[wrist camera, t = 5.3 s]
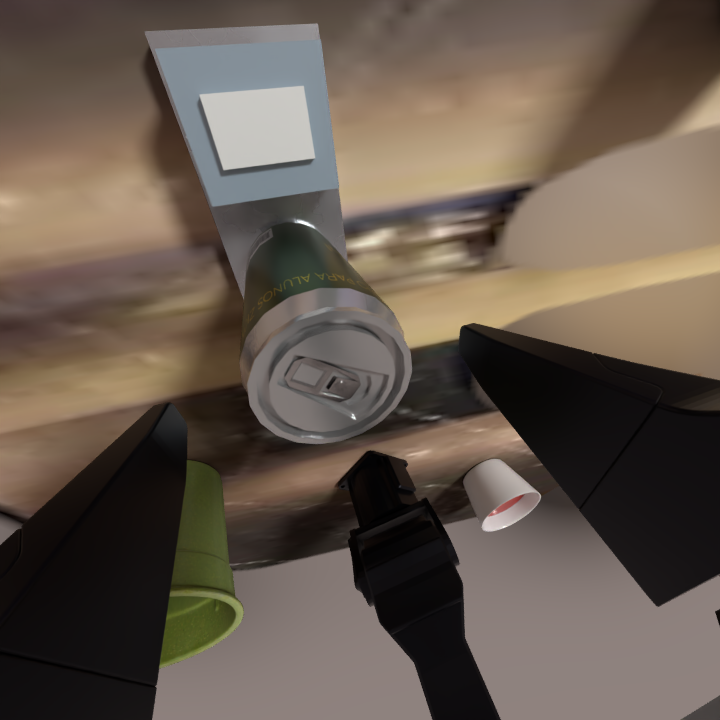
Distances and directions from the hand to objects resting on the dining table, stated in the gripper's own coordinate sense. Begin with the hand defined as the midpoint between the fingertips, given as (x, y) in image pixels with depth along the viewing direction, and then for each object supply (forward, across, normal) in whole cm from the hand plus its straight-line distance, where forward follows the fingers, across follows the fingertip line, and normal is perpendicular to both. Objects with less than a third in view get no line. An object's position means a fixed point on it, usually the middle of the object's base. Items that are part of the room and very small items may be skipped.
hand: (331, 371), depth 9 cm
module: (+11, 0, -6) cm, 13 cm away
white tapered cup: (+13, -20, +36) cm, 43 cm away
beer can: (+12, 0, 0) cm, 12 cm away
